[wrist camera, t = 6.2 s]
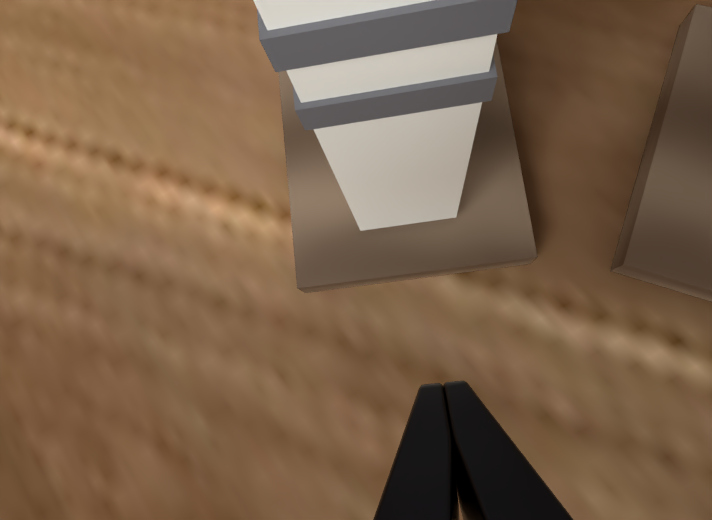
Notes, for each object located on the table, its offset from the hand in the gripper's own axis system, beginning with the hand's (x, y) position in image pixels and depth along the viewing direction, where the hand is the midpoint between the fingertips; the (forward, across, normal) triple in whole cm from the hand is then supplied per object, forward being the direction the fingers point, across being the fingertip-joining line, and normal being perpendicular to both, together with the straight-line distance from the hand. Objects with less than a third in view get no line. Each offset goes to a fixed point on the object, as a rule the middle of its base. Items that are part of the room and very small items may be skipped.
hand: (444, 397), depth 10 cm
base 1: (+16, 0, +2) cm, 17 cm away
